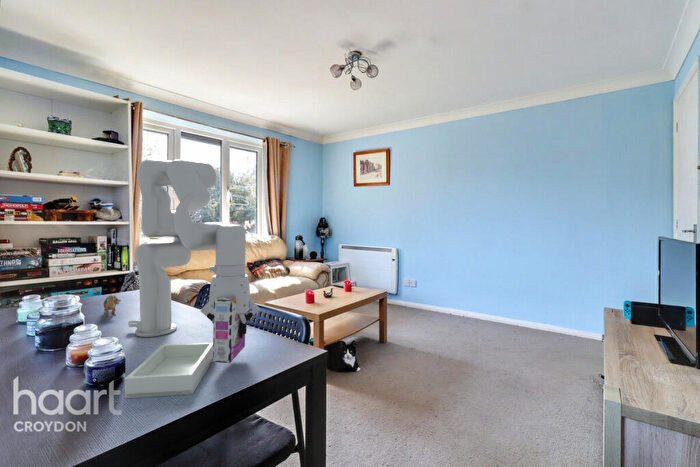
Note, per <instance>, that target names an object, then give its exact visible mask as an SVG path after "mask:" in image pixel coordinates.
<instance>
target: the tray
mask: <svg viewBox="0 0 700 467" xmlns="http://www.w3.org/2000/svg"><path fill="white" fill-rule="evenodd" d="M212 363H213V341H212V342H196V343H195V342H193V343H173V344H172V343H171V344H169V343H168V344H161V345H160V346H159V347H157V349H156V350H155V351H153V352H152V353H151V354H150V355H149V356H148V357H147V358H146V359H145V360H144V361H143V362H141V363H140V364H139V365H138V366H137V367H136V368H135V369H133V371H132V372H130V373H129V374H128V375H127V376H126V377H125V378H124V398H125V399H135V398H138V399H140V398H151V397H152V398H153V397H154V398H155V397H156V398H157V397H169V396H181V395H182V396H183V395H185V396H186V395H193V393H194V391H195V390H196V389H197V387H198V385H199V383H200V382H201V380H202V379H203V377H204V376H205V374H206V373H207V371H208V370H209V368H210V367H211V365H212Z"/></svg>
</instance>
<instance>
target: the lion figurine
mask: <svg viewBox="0 0 700 467" xmlns="http://www.w3.org/2000/svg"><path fill="white" fill-rule="evenodd" d="M120 303H121V299H120V298H118V297H117V296H116V295H115V294H110V295H108V296H107V297H106V298H105V300H104V302H103V307H104V312H103V314H104V318H108V317H109V313H108V312H109V311H111V315H112V316H113V317H115V316H117V314H116V306H117V305H119V304H120ZM112 316H111V317H112Z"/></svg>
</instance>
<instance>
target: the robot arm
mask: <svg viewBox="0 0 700 467" xmlns="http://www.w3.org/2000/svg"><path fill="white" fill-rule="evenodd" d="M136 176H137V182H138V186H139V189H140V193H141V221H140V222H141V231H142V235H144V236H145V237H147V238H151V239H153V238H154V239H163V238H167V239H168V238H173V240H157V241H147V242H142V244H139V245H138V246H137V248H136V249H135V253H134V255H135V262H136V266H137V270H138V280H139V281H138V282H139V284H138V286H139V287H138V288H139V318H140V319H138V320H137V319H130V320H129V321H128V323H127V324H128V328H136V329H135V331H134V332H135V336H137V337H139V338H153V337H159V336H164V335H168V334H171V333H173V332H175V331H176V330H177V326H178V325H177V324H176V323H174V322H172V321H173V320H172V319H173V318H172V284H171V282H172V281H171V278H170V277H169V275H168V273H167V272H165V270H164V269H167V268H175V267H176V268H177V267H183V266H185V265H187V264H188V263H190V260H191V257H192V251H193V252H198V251H199V252H200V251H210V250H211V251H214V250H215V264H214V265H213V266H210V267H209V272H213V273H214V275H213V276H212V277H211V279H210V280H211V282H210V288H209V297H208V298H209V299H208V301H207V303H206V304H204V306H203V307H202V308H201V309H200V312H201V314H203V315H205V317H206V318H207V319H208V320H209V321H210V322H211V323H212V324H213V323H214V300H215V299H217V298H225V297H227V298H236V314H239V315H240V318H241V323H240V338H243V336H244V334H245V335H246V334H247V332H248V331H247V327H248V326H247V324H248V323H247V322H248V321H249V320H250V319H251V318H252V317H253V316H254V315H255V314H257V313H258V312H259V311H260V307H259V306H258V305H257V303H255V302H254V300H253V299H252V298H251V289H250V288H251V287H250V281H249V275H248V274H247V273H246V249H247V248H246V237H247V236H246V235H247V234H246V229H245V228H246V227H245V226H243V225H242V224H232V223H231V224H230V223H228V222H194V221H193V219H192V217H191V215H190V214H193V213H195V212H198V211H200V210H202V209H203V208H205V207H206V206H207V205H208V203H210V200H211V194H210V192H209V190H208V189H211V188H213V187H214V186H215V185H216V183H217V178H218V176H217V173H216V170H215V168H214V166H213V165H211V164H210V163H208V162H204V161H198V160H192V159H185V158H183V159H182V158H179V159H178V158H177V159H174V160H167V159H157V158H156V159H155V158H153V159H152V158H151V159H150V158H149V159H144V160H142V161H141V162H140V163H139V165H138V168H137V173H136ZM166 187H169V188H170V187H171V188H172V189H173V191H174V193H175V195H176V197H177V199H178V201H179V203H178V205H177V206H176V208H175V210H171V199H172V198H171V196H170V193H169V192H168V191H167V189H166ZM250 308H251V309H252V310H250ZM249 310H250V311H249Z"/></svg>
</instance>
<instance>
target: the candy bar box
mask: <svg viewBox="0 0 700 467" xmlns="http://www.w3.org/2000/svg"><path fill="white" fill-rule="evenodd" d="M240 323H241V318H240V315H239V314H236V298H227V297H225V298H217V299H215V300H214V323H212V324H213V325H212V326H213V327H212V328H213V333H212V339H213V340H212V342H213V361H212V363H221V364H230V363H232V362H233V361H234V359H235V358H237V356H238V354H240V352H241V351H243V349H244V348H245V346H246V334H244V336H243V338H240Z"/></svg>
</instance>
